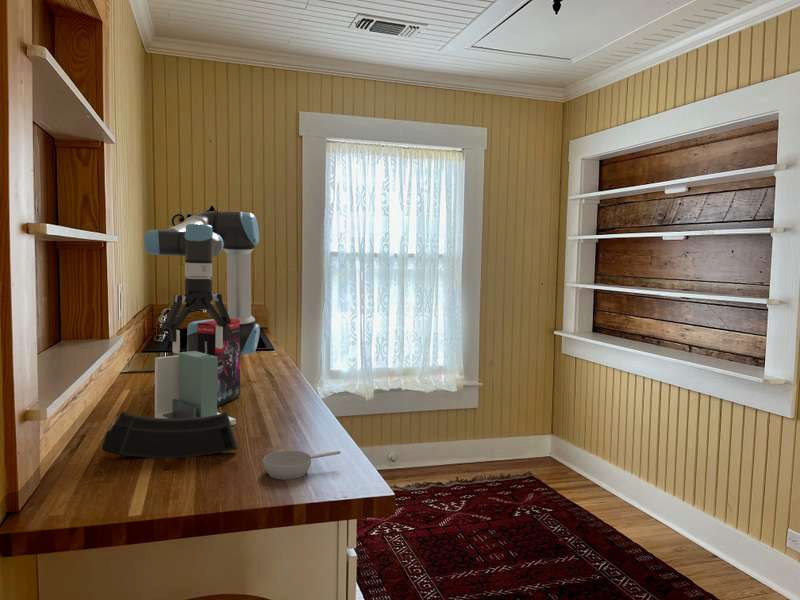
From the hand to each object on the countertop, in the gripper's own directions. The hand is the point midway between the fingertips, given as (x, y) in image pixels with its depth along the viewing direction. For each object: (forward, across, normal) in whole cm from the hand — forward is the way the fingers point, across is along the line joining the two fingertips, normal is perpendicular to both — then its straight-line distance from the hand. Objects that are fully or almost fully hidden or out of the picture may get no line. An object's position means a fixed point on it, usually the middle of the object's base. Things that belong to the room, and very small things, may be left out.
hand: (198, 350), depth 171 cm
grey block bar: (+19, -6, -1) cm, 20 cm away
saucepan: (+21, -3, -53) cm, 57 cm away
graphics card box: (+21, +16, +14) cm, 30 cm away
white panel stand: (+21, -1, -1) cm, 21 cm away
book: (+19, 0, 0) cm, 19 cm away
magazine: (+21, -20, -24) cm, 37 cm away
